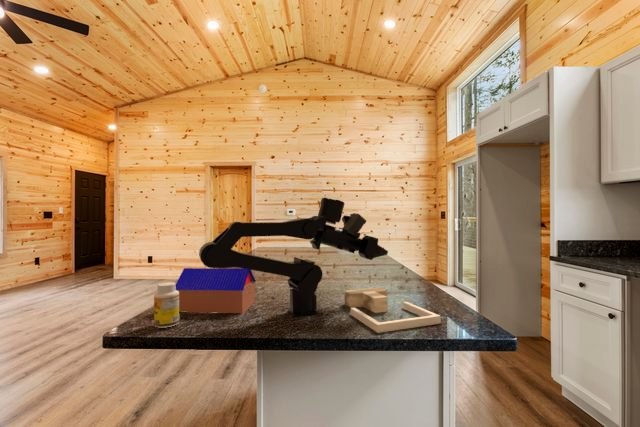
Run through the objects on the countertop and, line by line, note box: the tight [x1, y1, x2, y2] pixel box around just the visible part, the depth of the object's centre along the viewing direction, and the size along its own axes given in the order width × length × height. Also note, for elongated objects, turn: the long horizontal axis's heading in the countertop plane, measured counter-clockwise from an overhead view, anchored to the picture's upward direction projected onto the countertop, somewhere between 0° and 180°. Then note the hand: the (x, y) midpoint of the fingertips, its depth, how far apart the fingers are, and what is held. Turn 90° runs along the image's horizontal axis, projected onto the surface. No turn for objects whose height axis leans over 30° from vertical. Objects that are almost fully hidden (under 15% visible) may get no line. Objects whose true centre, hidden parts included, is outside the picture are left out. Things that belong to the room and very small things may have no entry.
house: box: [175, 267, 257, 314], centre depth 94 cm, size 12×20×12 cm, turn 84°
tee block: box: [343, 287, 389, 314], centre depth 92 cm, size 11×12×4 cm
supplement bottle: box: [153, 281, 180, 329], centre depth 78 cm, size 6×6×10 cm
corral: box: [350, 301, 442, 334], centre depth 81 cm, size 17×14×2 cm
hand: (378, 250), depth 98 cm, fingers open, 9 cm apart
